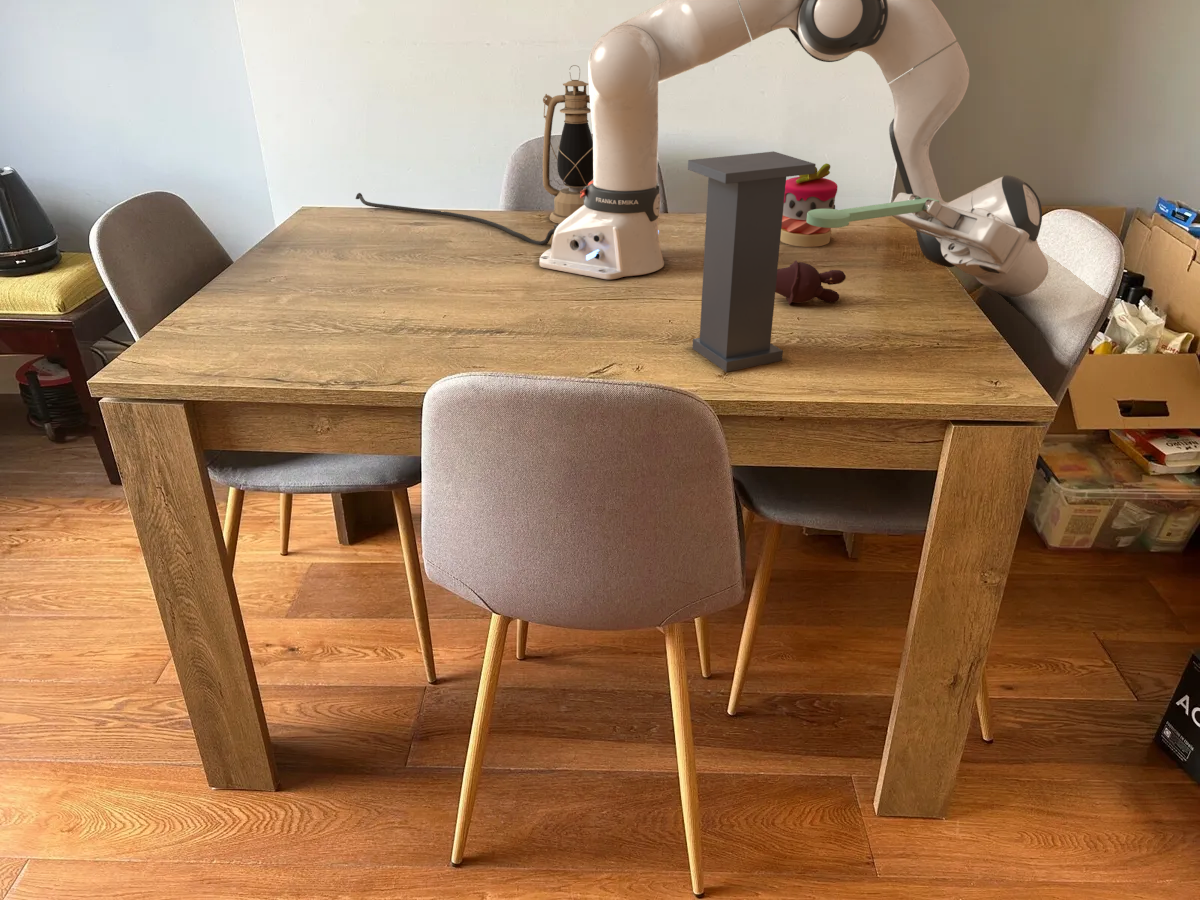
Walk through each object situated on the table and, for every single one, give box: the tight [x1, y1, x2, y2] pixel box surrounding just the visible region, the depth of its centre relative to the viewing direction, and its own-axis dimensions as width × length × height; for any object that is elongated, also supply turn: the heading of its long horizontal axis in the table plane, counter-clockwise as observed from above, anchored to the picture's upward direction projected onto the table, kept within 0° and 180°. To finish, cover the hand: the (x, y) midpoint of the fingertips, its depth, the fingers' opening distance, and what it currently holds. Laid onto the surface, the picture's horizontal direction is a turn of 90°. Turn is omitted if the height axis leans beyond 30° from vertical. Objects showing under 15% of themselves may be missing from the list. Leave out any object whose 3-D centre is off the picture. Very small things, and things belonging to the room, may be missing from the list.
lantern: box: [542, 64, 593, 224], centre depth 181 cm, size 14×12×30 cm
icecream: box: [775, 259, 847, 305], centre depth 140 cm, size 7×7×15 cm
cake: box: [780, 162, 839, 248], centre depth 169 cm, size 10×11×15 cm
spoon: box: [806, 198, 939, 229], centre depth 122 cm, size 21×6×1 cm, turn 115°
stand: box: [687, 150, 817, 373], centre depth 116 cm, size 13×9×26 cm
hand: (919, 202), depth 124 cm, fingers closed on spoon, 2 cm apart
